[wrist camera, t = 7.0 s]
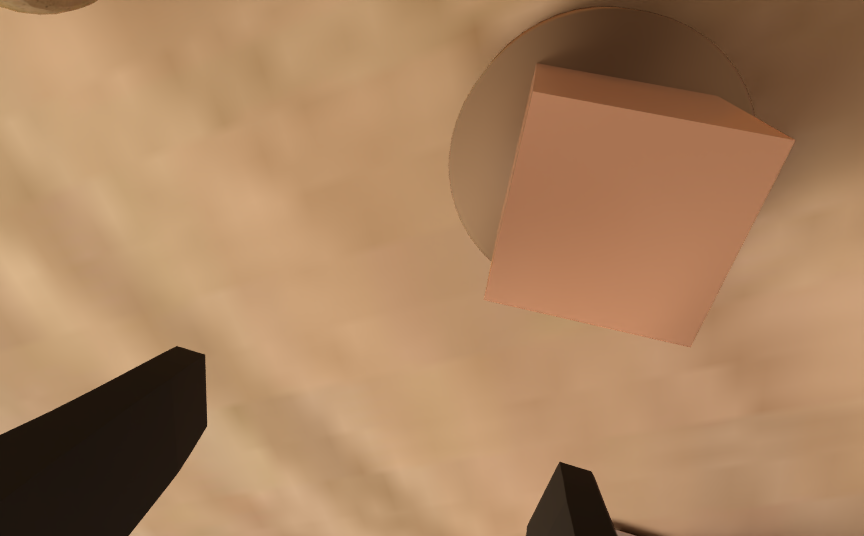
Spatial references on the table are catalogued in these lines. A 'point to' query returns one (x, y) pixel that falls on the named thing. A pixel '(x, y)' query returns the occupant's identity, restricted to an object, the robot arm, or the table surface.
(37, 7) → the ceramic mug
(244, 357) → the table surface
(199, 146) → the table surface
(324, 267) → the table surface
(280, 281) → the table surface
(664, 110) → the cube
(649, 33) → the pedestal
